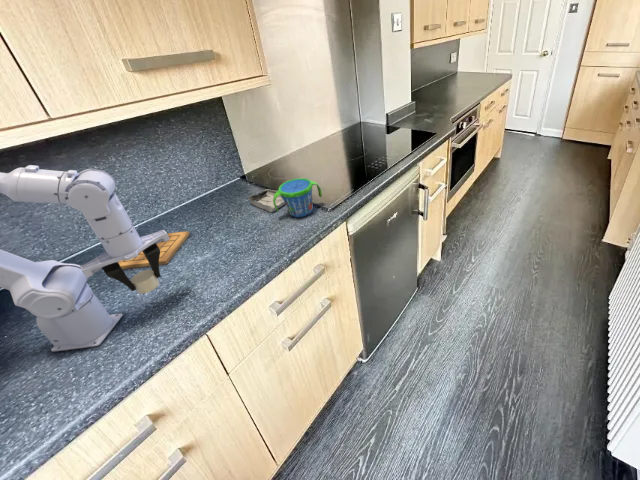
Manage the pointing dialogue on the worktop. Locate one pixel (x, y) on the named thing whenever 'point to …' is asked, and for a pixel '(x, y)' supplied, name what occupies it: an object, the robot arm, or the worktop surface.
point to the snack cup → (297, 196)
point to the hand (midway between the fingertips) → (145, 281)
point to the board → (165, 251)
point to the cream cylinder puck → (145, 281)
